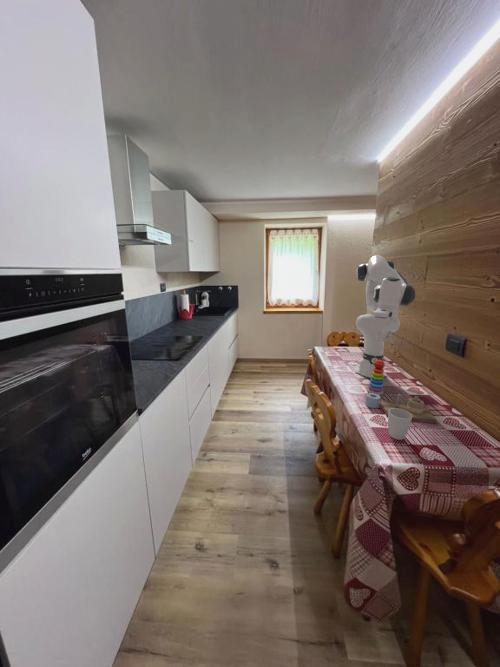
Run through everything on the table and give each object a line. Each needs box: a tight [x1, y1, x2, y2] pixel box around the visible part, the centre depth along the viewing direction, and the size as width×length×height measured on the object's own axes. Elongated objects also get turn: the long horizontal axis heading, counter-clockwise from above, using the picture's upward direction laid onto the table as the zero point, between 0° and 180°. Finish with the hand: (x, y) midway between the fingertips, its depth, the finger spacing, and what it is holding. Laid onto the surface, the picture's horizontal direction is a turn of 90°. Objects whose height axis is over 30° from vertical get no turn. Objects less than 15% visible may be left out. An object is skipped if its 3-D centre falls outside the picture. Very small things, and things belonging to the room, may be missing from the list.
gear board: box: [379, 393, 438, 425], centre depth 124 cm, size 14×20×8 cm
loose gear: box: [364, 392, 381, 409], centre depth 130 cm, size 6×6×5 cm
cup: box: [387, 408, 413, 441], centre depth 105 cm, size 8×8×10 cm
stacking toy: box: [366, 360, 386, 396], centre depth 143 cm, size 8×8×19 cm
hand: (383, 340), depth 128 cm, fingers open, 8 cm apart
